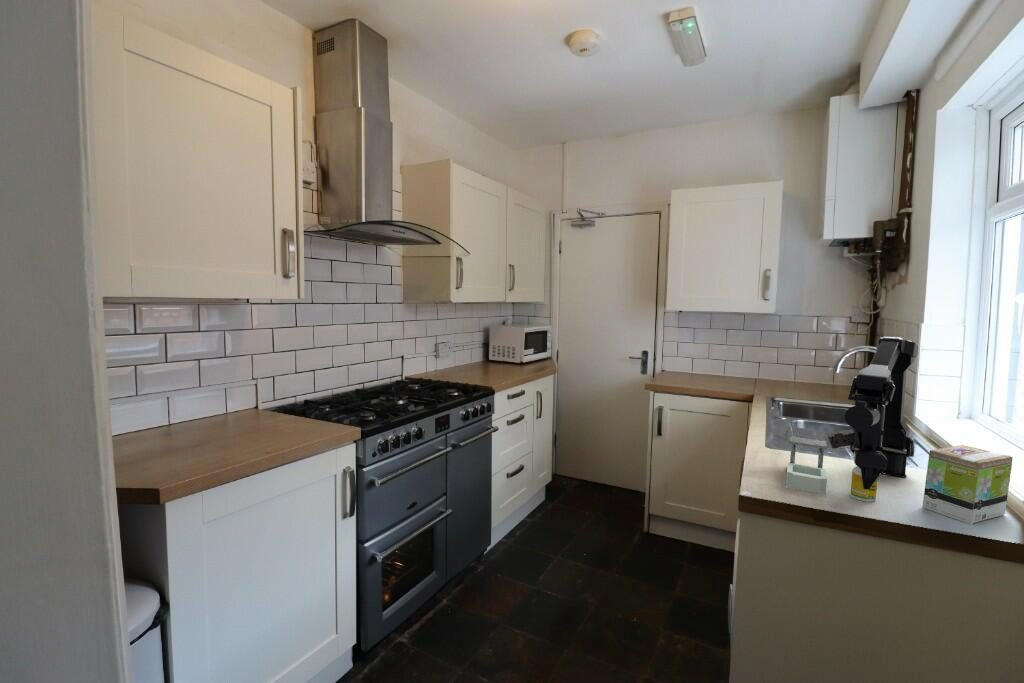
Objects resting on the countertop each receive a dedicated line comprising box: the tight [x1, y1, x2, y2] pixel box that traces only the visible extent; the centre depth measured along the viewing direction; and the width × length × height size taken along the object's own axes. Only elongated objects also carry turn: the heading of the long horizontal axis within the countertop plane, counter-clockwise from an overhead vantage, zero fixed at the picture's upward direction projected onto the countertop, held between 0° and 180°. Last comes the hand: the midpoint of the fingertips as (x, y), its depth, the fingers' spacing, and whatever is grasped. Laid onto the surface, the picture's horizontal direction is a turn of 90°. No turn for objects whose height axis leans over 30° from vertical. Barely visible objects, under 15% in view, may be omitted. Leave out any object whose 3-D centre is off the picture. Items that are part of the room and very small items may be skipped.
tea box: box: [922, 444, 1013, 525], centre depth 115 cm, size 15×10×15 cm, turn 114°
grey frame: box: [789, 436, 828, 468], centre depth 140 cm, size 9×6×8 cm, turn 59°
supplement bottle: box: [849, 464, 879, 503], centre depth 122 cm, size 5×5×10 cm
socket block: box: [785, 462, 828, 496], centre depth 134 cm, size 9×20×4 cm, turn 149°
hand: (864, 483), depth 122 cm, fingers open, 9 cm apart
